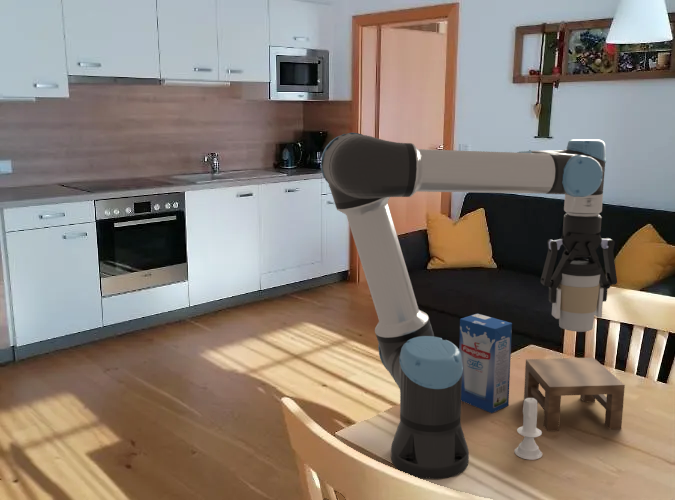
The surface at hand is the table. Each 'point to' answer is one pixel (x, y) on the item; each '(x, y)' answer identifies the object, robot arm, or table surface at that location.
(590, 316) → the coffee cup
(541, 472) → the table surface
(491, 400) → the milk carton
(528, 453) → the candle
